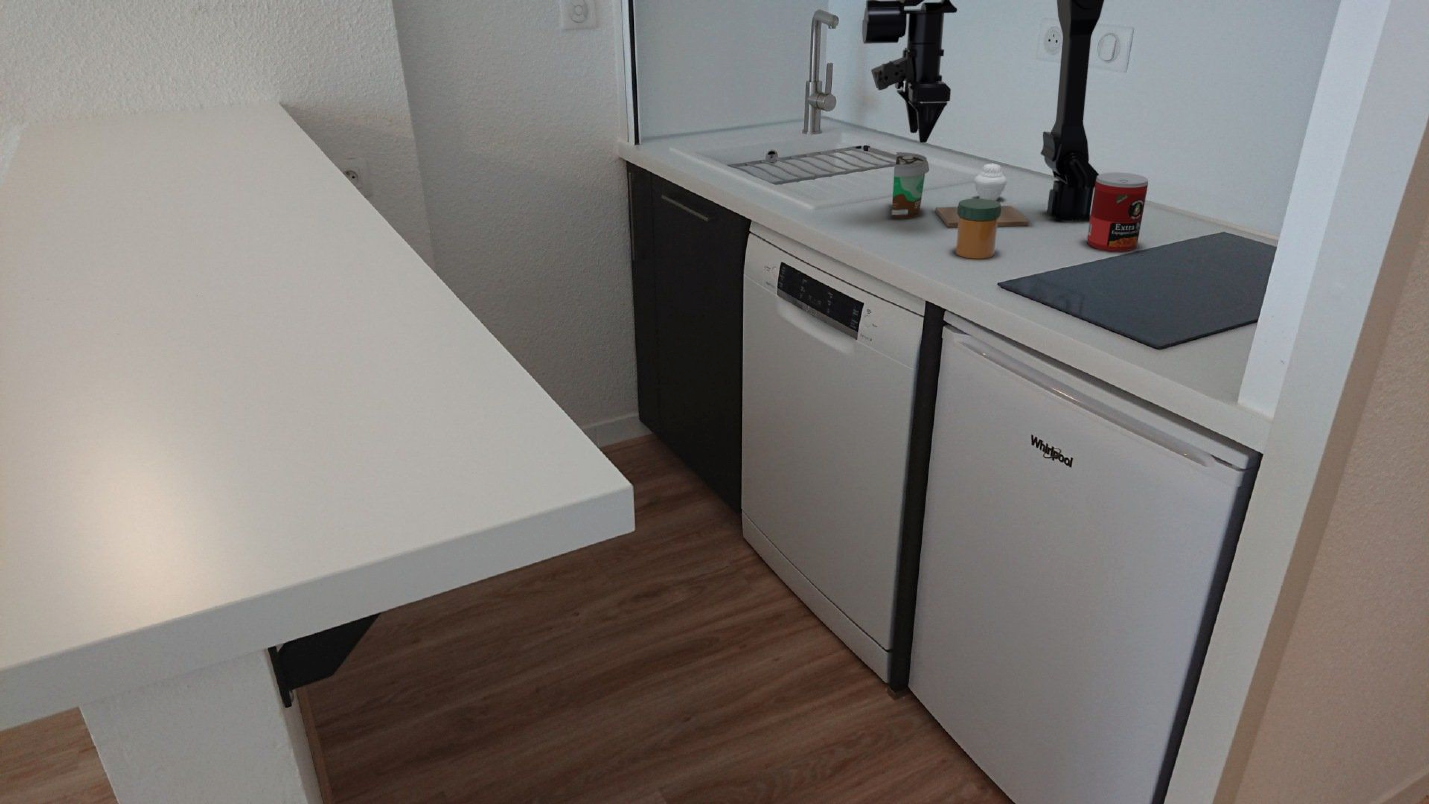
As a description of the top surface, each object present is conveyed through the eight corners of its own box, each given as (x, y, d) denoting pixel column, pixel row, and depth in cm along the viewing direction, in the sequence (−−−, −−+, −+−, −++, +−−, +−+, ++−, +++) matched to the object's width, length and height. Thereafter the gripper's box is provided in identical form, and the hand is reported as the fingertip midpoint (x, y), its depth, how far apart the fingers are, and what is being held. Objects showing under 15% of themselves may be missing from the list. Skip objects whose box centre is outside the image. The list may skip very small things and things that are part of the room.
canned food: (1111, 254, 151) (1123, 185, 146) (1075, 241, 158) (1085, 175, 153) (1148, 248, 154) (1160, 179, 149) (1111, 235, 160) (1122, 170, 156)
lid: (993, 209, 154) (995, 198, 153) (1004, 220, 148) (1006, 208, 147) (953, 210, 154) (954, 198, 153) (962, 221, 148) (963, 209, 147)
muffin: (1011, 200, 183) (1015, 164, 180) (985, 204, 181) (989, 167, 178) (991, 194, 188) (995, 158, 185) (965, 197, 186) (969, 161, 183)
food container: (925, 222, 171) (930, 165, 167) (891, 220, 172) (894, 165, 168) (926, 205, 182) (930, 152, 177) (893, 204, 183) (896, 151, 179)
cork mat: (1010, 210, 177) (1011, 205, 177) (1027, 225, 167) (1028, 221, 167) (935, 211, 177) (935, 207, 177) (948, 227, 167) (948, 222, 167)
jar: (988, 247, 156) (993, 201, 153) (998, 258, 151) (1003, 211, 147) (952, 248, 156) (956, 202, 153) (960, 259, 151) (964, 211, 147)
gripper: (868, 38, 168) (864, 129, 175) (884, 49, 151) (879, 149, 158) (932, 37, 168) (925, 127, 174) (955, 47, 151) (946, 147, 157)
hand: (918, 137), depth 166 cm, fingers open, 9 cm apart
